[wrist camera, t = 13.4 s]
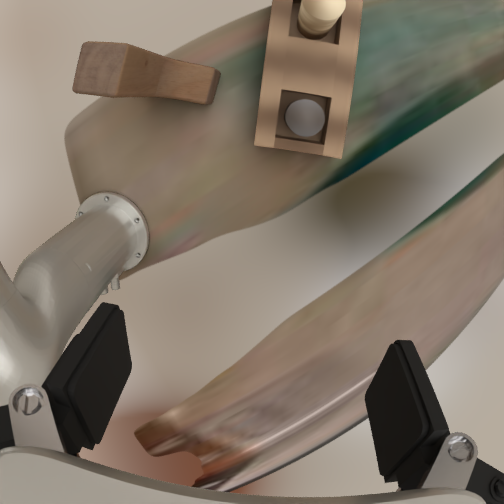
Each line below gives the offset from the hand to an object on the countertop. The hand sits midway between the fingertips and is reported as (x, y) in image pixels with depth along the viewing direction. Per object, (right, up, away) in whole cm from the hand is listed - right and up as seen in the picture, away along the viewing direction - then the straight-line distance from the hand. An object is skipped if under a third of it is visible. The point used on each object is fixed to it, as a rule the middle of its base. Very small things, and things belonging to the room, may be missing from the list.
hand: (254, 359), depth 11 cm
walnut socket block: (+7, +26, +24) cm, 36 cm away
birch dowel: (+7, +31, +21) cm, 38 cm away
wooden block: (-9, +25, +26) cm, 37 cm away
